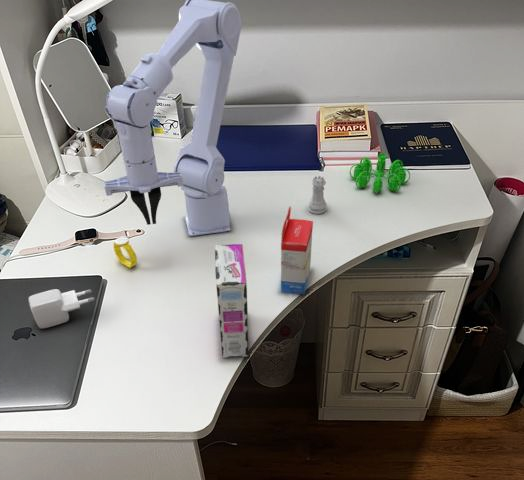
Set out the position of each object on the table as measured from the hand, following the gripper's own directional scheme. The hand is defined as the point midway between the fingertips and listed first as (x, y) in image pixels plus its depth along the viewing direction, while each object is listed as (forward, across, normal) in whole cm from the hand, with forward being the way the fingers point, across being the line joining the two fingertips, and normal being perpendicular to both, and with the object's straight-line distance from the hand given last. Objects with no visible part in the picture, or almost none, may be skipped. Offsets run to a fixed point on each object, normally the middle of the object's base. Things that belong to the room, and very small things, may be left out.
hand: (151, 221), depth 108 cm
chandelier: (+10, +58, +20) cm, 62 cm away
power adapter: (+10, -18, -14) cm, 25 cm away
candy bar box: (+10, +12, -27) cm, 31 cm away
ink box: (+10, +26, -14) cm, 31 cm away
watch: (+10, -6, 0) cm, 12 cm away
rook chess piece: (+10, +38, +11) cm, 41 cm away
